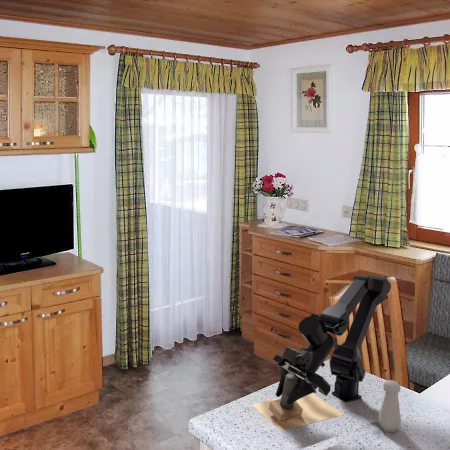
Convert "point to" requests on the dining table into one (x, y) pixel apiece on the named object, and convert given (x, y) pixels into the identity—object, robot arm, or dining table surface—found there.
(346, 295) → the robot arm
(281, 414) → the rubber stamp
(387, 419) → the salt shaker
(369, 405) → the dining table surface
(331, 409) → the pine board
